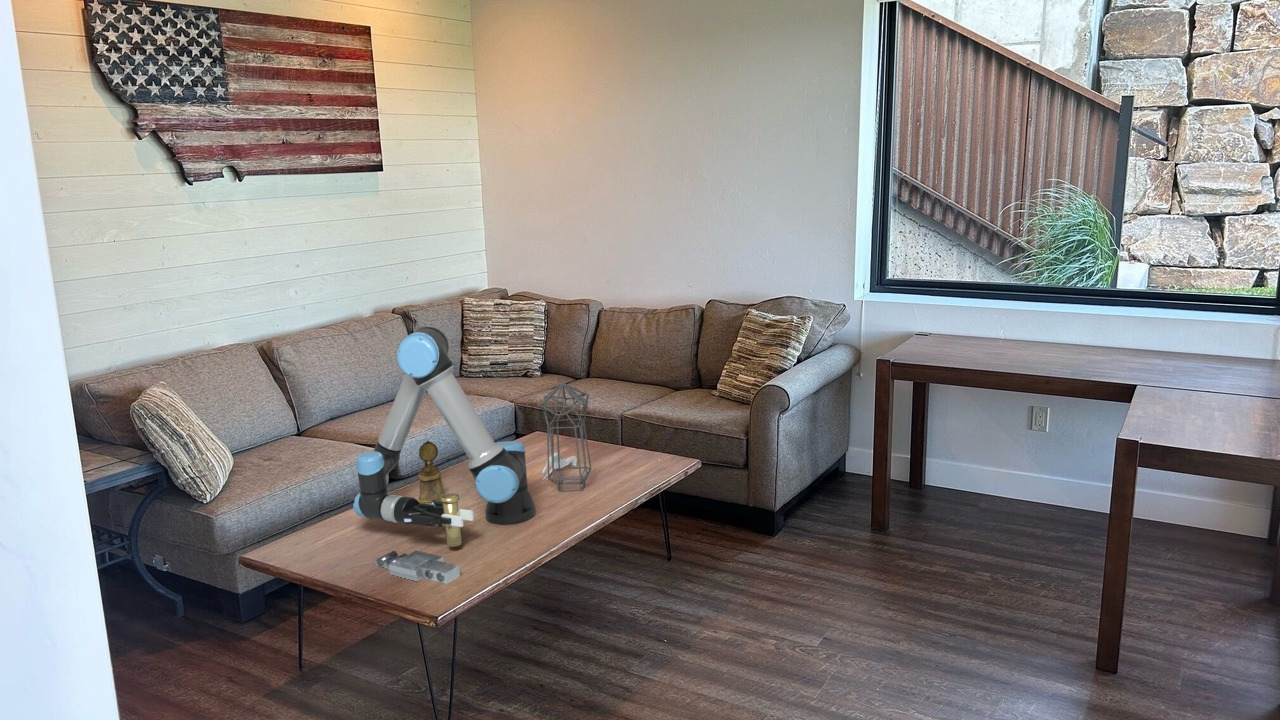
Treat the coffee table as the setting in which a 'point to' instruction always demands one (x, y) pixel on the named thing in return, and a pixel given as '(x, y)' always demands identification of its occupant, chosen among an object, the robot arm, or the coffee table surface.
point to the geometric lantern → (585, 403)
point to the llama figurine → (562, 462)
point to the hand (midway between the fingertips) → (467, 518)
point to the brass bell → (429, 475)
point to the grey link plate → (427, 568)
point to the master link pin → (451, 509)
